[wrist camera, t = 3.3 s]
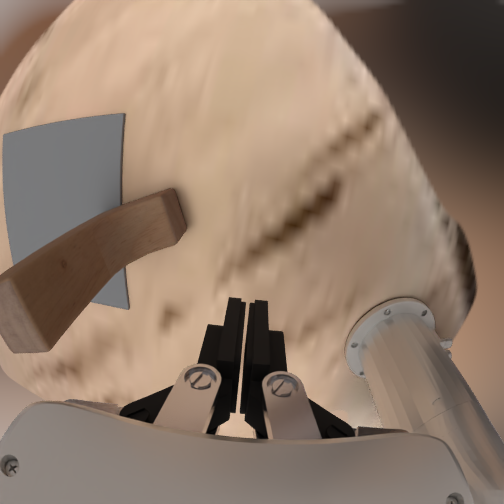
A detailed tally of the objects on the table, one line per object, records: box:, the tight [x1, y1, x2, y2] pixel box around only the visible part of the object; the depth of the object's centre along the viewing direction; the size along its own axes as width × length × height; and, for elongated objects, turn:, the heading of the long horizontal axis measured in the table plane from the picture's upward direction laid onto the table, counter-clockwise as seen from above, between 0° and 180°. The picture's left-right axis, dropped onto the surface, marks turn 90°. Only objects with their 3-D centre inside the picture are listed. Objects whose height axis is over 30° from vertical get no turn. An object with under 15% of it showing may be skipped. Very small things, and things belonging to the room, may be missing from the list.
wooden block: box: [0, 188, 187, 353], centre depth 18 cm, size 9×4×18 cm, turn 105°
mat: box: [3, 113, 130, 310], centre depth 27 cm, size 21×22×1 cm
